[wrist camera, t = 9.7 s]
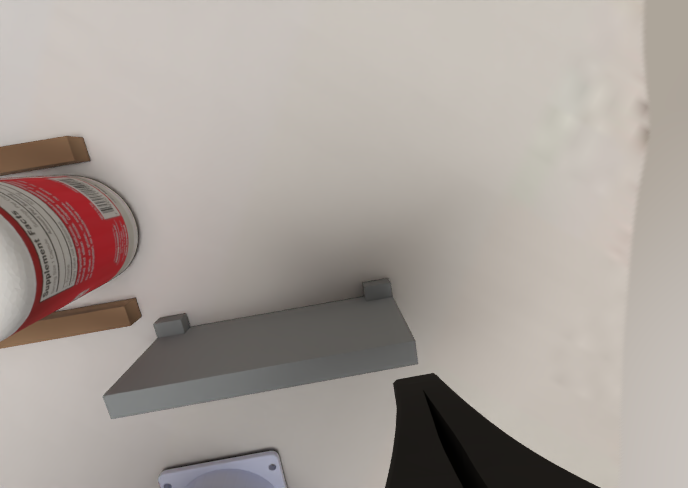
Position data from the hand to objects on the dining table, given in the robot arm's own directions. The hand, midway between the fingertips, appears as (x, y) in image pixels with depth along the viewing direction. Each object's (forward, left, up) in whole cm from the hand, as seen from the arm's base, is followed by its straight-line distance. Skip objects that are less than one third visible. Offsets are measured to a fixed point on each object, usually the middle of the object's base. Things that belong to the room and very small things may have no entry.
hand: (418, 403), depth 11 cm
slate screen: (-1, +6, -10) cm, 12 cm away
